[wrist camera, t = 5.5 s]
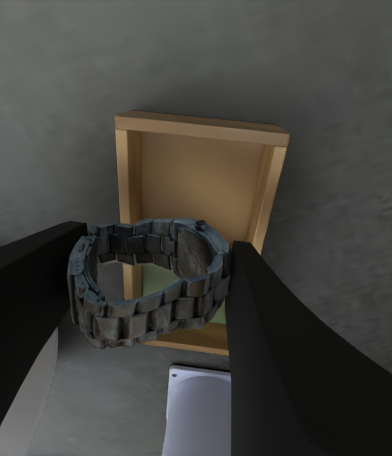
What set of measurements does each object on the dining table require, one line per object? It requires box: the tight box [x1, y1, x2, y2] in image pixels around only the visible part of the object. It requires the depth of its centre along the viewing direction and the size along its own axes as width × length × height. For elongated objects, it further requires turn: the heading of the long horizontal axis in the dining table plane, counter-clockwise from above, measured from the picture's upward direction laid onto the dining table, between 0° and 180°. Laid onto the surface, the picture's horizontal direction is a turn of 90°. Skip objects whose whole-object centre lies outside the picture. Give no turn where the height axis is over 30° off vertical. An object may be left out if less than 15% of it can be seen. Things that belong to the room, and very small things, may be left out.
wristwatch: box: [67, 218, 231, 349], centre depth 9 cm, size 3×5×5 cm
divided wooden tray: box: [115, 110, 290, 355], centre depth 17 cm, size 16×8×3 cm, turn 175°
